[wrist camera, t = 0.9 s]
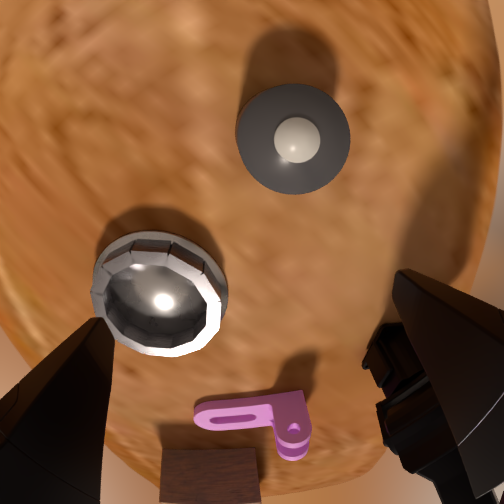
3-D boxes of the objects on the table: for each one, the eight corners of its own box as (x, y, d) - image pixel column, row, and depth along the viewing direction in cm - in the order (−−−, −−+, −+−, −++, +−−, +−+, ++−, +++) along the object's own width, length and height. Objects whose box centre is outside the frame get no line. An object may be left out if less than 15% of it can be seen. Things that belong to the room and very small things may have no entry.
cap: (332, 96, 17) (359, 96, 13) (318, 181, 20) (340, 201, 16) (240, 82, 16) (245, 75, 12) (230, 172, 19) (232, 190, 15)
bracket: (302, 388, 31) (315, 439, 25) (300, 411, 34) (311, 457, 27) (189, 400, 30) (187, 452, 24) (199, 422, 33) (199, 469, 27)
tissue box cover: (256, 485, 50) (261, 522, 42) (192, 487, 49) (193, 524, 41) (254, 445, 38) (261, 502, 29) (162, 447, 37) (159, 502, 28)
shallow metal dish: (233, 234, 21) (234, 248, 19) (223, 347, 26) (224, 364, 24) (84, 226, 19) (73, 239, 17) (106, 337, 25) (100, 352, 23)
